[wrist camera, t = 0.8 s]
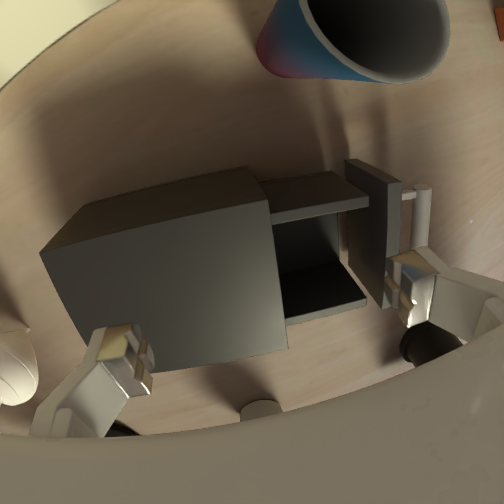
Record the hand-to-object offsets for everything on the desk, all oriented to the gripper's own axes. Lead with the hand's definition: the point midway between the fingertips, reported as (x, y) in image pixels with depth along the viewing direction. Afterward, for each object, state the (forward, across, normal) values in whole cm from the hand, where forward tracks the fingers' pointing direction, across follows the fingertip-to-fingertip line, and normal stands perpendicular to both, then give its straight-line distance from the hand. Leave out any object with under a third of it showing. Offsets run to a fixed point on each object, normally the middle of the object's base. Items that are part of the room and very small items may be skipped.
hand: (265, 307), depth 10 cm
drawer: (+17, -6, +6) cm, 19 cm away
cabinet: (+18, +6, +6) cm, 19 cm away
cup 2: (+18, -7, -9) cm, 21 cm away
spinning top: (+18, +27, +10) cm, 34 cm away
